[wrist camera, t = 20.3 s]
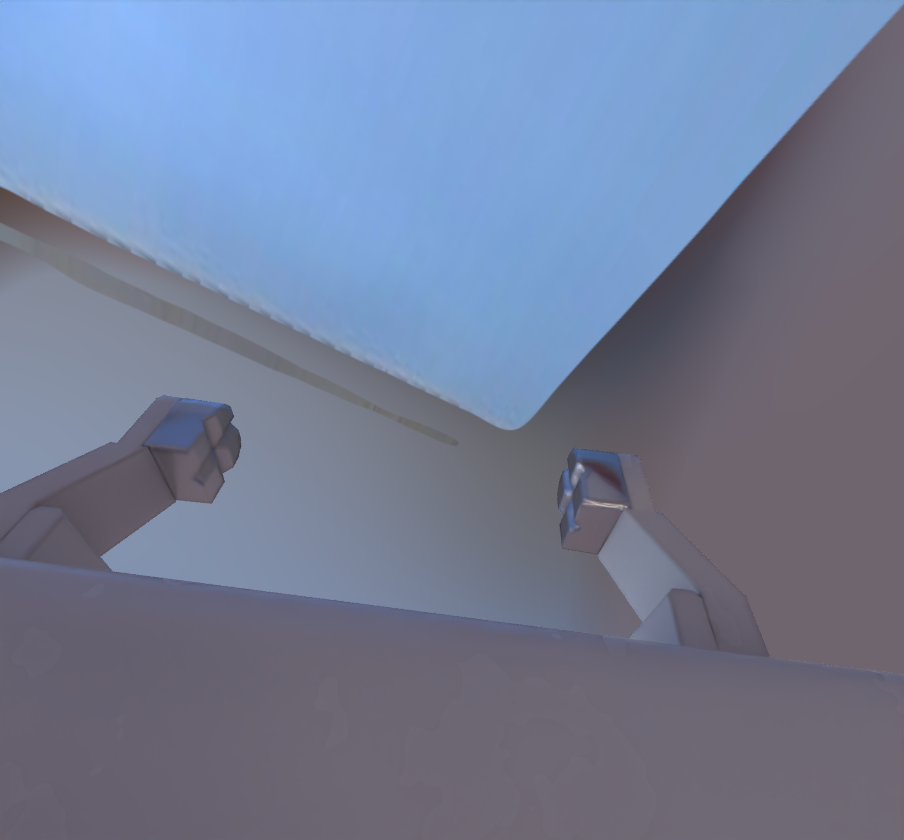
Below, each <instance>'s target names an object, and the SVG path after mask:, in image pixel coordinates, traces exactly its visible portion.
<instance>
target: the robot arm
mask: <svg viewBox="0 0 904 840" xmlns="http://www.w3.org/2000/svg"><path fill="white" fill-rule="evenodd" d="M233 418H234V415H233V412H232V409H231V407H230V406H228V405H226V404H222V403H215V402H208V401H202V400H195V399H189V398H179V397H172V396H166V395H163V396H161V397H158V398H157V399H156V400H155V401H154V402H153V403H152V404H151V405H150V406H149V408H148V409H147V410H146V411H145V412H144V413H143V414H142V415H141V417H140V418H139V419H138V420H137V421H136V422H135V423H134V425H133V426H132V427H131V428H130V429H129V430H128V431H127V432H126V434H125V435H124V436H123V437H122V438H121V439H120V440H119V442H118V443H114V442H110V443H108V444H105V445H103V446H101V447H99V448H97V449H95V450H93V451H91V452H88V453H86V454H84V455H82V456H80V457H77V458H75V459H73V460H71V461H69V462H67V463H65V464H62V465H60V466H58V467H56V468H54V469H52V470H49V471H47V472H45V473H43V474H41V475H39V476H36V477H34V478H32V479H30V480H28V481H26V482H24V483H21V484H19V485H17V486H15V487H13V488H11V489H8V490H6V491H4V492H3V493H0V840H904V675H903V674H896V673H888V672H881V671H873V670H865V669H857V668H850V667H842V666H834V665H827V664H819V663H811V662H803V661H795V660H788V659H780V658H773V657H770V656H769V653H768V651H767V649H766V646H765V643H764V640H763V638H762V635H761V633H760V630H759V628H758V625H757V623H756V620H755V617H754V615H753V612H752V610H751V607H750V605H749V602H748V600H747V597H746V595H744V594H743V592H742V591H740V590H739V589H738V588H737V587H736V586H735V585H734V584H733V583H732V582H731V581H730V580H729V579H728V578H727V577H726V576H725V575H724V574H723V573H722V572H721V571H720V570H719V569H718V568H717V567H716V566H715V565H714V564H713V563H712V562H711V561H710V560H709V559H708V558H707V557H706V556H705V555H704V554H703V553H702V552H701V551H700V550H699V549H698V548H697V547H696V546H695V545H694V544H693V543H692V542H691V541H690V540H689V539H688V538H687V537H686V536H685V535H684V534H683V533H682V532H681V531H680V530H679V529H678V528H677V527H676V526H675V525H674V524H673V523H672V522H671V521H670V520H669V519H668V518H667V517H666V516H665V515H664V514H663V513H660V512H656V511H655V507H654V504H653V501H652V497H651V494H650V490H649V487H648V484H647V480H646V476H645V473H644V470H643V466H642V463H641V459H640V458H639V457H638V456H637V455H628V454H620V453H611V452H603V451H594V450H586V449H577V448H573V449H572V450H571V451H570V454H569V456H568V459H567V460H568V468H567V469H566V470H564V471H563V472H562V475H561V478H560V481H559V486H558V498H557V500H558V509H559V511H560V512H561V513H562V514H563V518H562V520H561V523H560V533H561V543H562V549H567V550H573V551H579V552H586V553H593V554H598V557H599V559H600V560H601V562H602V563H603V565H604V566H605V568H606V569H607V571H608V572H609V574H610V575H611V577H612V578H613V579H614V581H615V583H616V584H617V585H618V587H619V588H620V590H621V591H622V593H623V594H624V596H625V597H626V599H627V600H628V602H629V603H630V605H631V606H632V607H633V609H634V610H635V612H636V613H637V615H638V616H639V618H640V619H641V621H642V622H643V623H642V624H641V625H640V626H639V628H638V629H637V630H636V631H635V632H634V633H633V635H632V636H631V637H630V638H629V639H626V638H619V637H612V636H604V635H597V634H589V633H581V632H574V631H566V630H558V629H550V628H543V627H535V626H527V625H519V624H512V623H505V622H497V621H488V620H481V619H474V618H466V617H459V616H450V615H443V614H436V613H428V612H420V611H412V610H404V609H397V608H390V607H382V606H374V605H366V604H359V603H351V602H343V601H336V600H328V599H320V598H312V597H305V596H297V595H289V594H282V593H274V592H266V591H258V590H251V589H243V588H235V587H228V586H220V585H212V584H205V583H196V582H190V581H182V580H174V579H167V578H159V577H151V576H143V575H136V574H128V573H121V572H113V571H111V569H110V568H109V567H108V565H107V564H106V563H105V562H104V561H103V559H102V558H101V557H100V556H102V555H103V554H105V553H106V552H107V551H109V550H110V549H111V548H113V547H114V546H116V545H117V544H118V543H120V542H121V541H123V540H124V539H125V538H127V537H128V536H129V535H131V534H132V533H133V532H135V531H136V530H138V529H139V528H140V527H142V526H143V525H145V524H146V523H147V522H149V521H150V520H151V519H153V518H154V517H156V516H157V515H158V514H160V513H161V512H162V511H164V510H165V509H167V508H168V507H169V506H171V505H172V504H173V503H175V502H176V501H175V500H182V501H191V502H201V503H212V502H213V501H214V499H215V497H216V495H217V494H218V492H219V490H220V488H221V487H222V485H223V484H224V482H225V481H224V478H223V473H224V472H226V471H228V470H229V469H231V468H233V467H234V465H235V463H236V461H237V459H238V457H239V453H240V449H241V437H240V434H239V431H238V429H237V428H235V427H234V426H233V425H232V424H231V423H230V422H231V421H232V419H233Z"/></svg>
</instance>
